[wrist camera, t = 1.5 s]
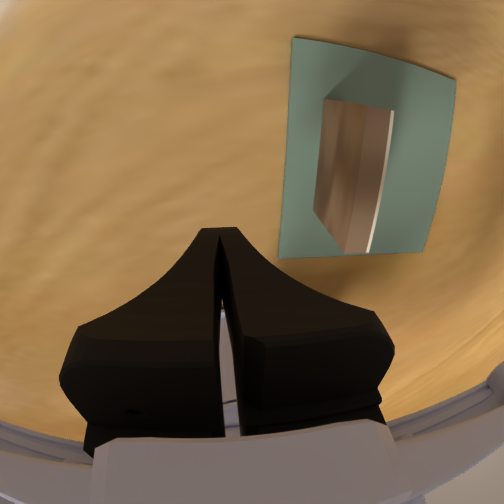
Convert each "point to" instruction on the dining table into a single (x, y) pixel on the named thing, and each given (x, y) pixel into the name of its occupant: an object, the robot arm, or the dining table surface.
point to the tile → (351, 171)
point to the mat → (400, 154)
